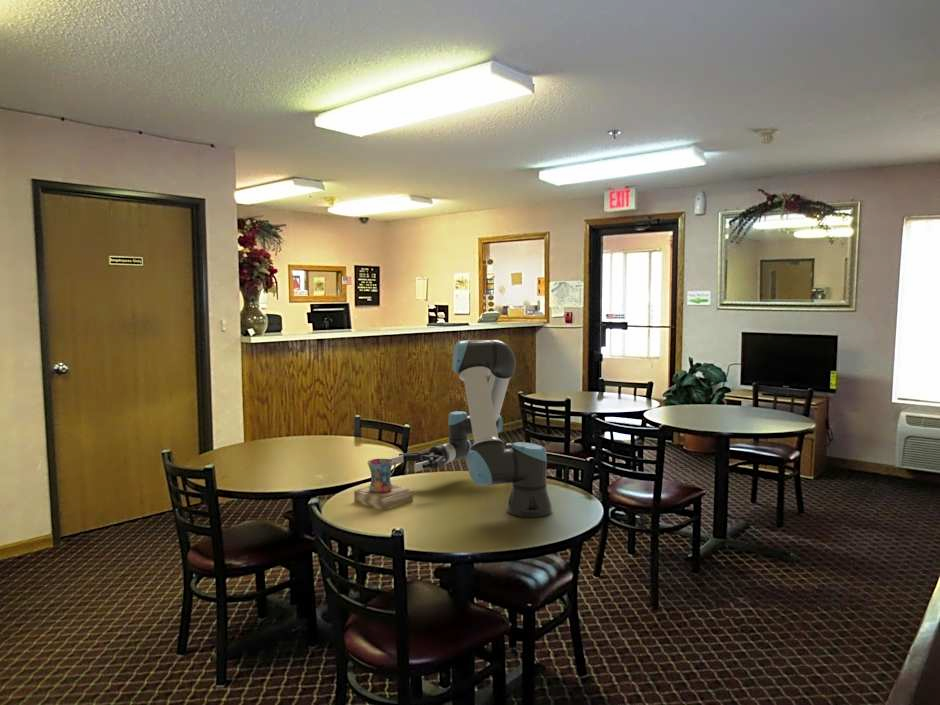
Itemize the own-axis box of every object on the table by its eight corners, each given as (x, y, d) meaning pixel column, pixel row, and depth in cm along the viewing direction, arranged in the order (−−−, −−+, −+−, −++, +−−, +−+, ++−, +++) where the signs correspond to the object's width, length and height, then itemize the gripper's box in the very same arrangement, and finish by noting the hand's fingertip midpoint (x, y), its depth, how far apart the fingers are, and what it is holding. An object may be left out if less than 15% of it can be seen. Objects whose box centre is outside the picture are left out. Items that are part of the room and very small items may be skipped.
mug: (380, 495, 226) (379, 466, 225) (362, 491, 232) (361, 462, 231) (404, 488, 235) (404, 459, 235) (387, 483, 241) (386, 455, 241)
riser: (412, 500, 234) (412, 489, 234) (383, 510, 224) (383, 498, 223) (383, 492, 245) (383, 481, 244) (354, 501, 234) (354, 489, 234)
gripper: (465, 468, 248) (426, 480, 232) (419, 458, 265) (380, 469, 249) (465, 449, 248) (426, 460, 232) (419, 440, 264) (380, 450, 248)
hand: (402, 464), depth 240 cm, fingers open, 13 cm apart
